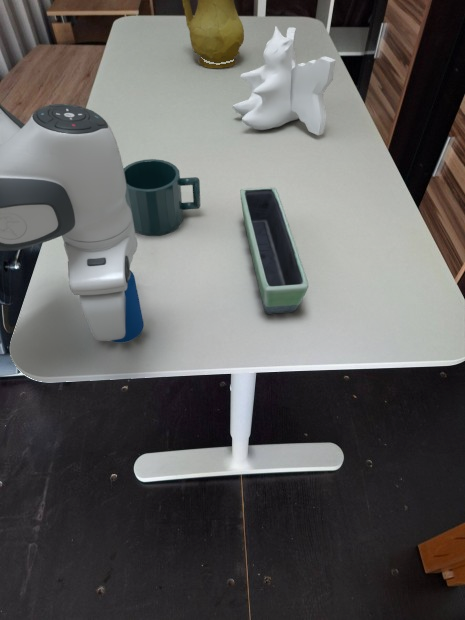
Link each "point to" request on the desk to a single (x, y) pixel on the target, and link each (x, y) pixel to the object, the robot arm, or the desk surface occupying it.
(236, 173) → the desk surface
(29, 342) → the desk surface
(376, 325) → the desk surface
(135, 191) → the teal faceted mug
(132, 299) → the beverage can
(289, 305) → the planter
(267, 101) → the white faceted figurine
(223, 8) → the pitcher
